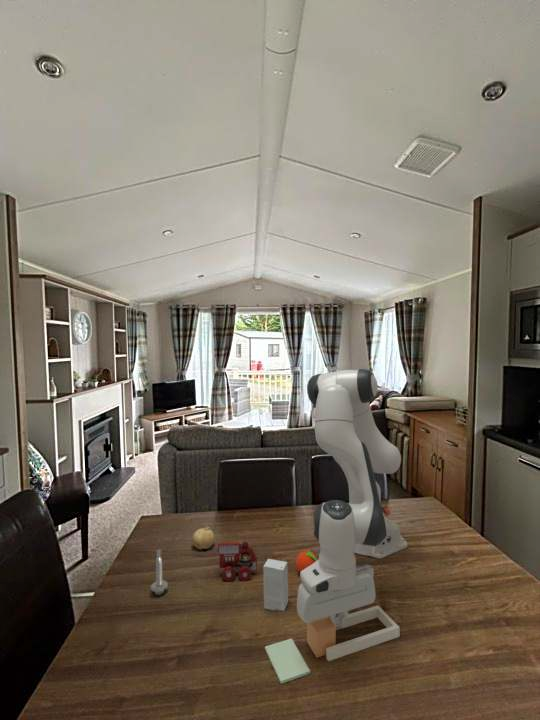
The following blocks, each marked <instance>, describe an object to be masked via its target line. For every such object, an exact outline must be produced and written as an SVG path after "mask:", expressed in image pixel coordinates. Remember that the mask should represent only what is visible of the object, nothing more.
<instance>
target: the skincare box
mask: <svg viewBox="0 0 540 720" xmlns="http://www.w3.org/2000/svg"><path fill="white" fill-rule="evenodd" d="M262 569H263V573H262V574H263V609H266V610H270V611H273V612H274V611H275V612H276V611H277V610H278V611H282V612H284V611H285V610H286V608H287V605H288V603H289V579H288V577H289V575H288V573H289V572H288V571H289V570H288V561H283V560H277V559H271V558H267V560H266V561H265V563H264V565H263V567H262Z"/></svg>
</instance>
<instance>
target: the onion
mask: <svg viewBox="0 0 540 720" xmlns="http://www.w3.org/2000/svg"><path fill="white" fill-rule="evenodd" d="M215 537H216V536H215V533H214V532H213V530H211V528H210V527H209V526H208V524H207V525H206V527H202V528H199V529H197V530H195V532H194V533H193V535H192V537H191V538H192V539H191V541H192V544H193V546H194V547H195V548H196V549H198V550H201V551H202V550H203V549H205V550H207V549H209V548H211V547H212V546H213V545H214V543H215Z"/></svg>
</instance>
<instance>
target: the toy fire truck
mask: <svg viewBox="0 0 540 720" xmlns="http://www.w3.org/2000/svg"><path fill="white" fill-rule="evenodd" d="M217 552H218V554H219V572H221V578H222V579H223V581H226V582H231V581H233V580H234V579H235V577H236V572H238V577H239V579H240V580H241V581H243V582H245V581H246V582H247V581H249V580H250V579H251V577H252V572H255V571H257V568H258V557H257V555H256V553H255V551H254V549H253V548H252V546H249V543H248V541H245V540H244V541H243V542H242V543H241V542H239V541H237V542H236V541H235V542H233V541H231V542H219V543H218V545H217Z"/></svg>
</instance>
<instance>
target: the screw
mask: <svg viewBox="0 0 540 720" xmlns="http://www.w3.org/2000/svg"><path fill="white" fill-rule="evenodd" d="M155 559H156V560H155V571H156V572H155V581H154V582H153V583H152V584H151V585H150V590H151V591H152V592H154V594H155V595H157V596H160V595H162V594H164V593H165V590H166V589H167V588H168V586H169V583H168V581H166V580H164V579H163V557H162V549H160V548H159V549H156V558H155Z"/></svg>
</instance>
